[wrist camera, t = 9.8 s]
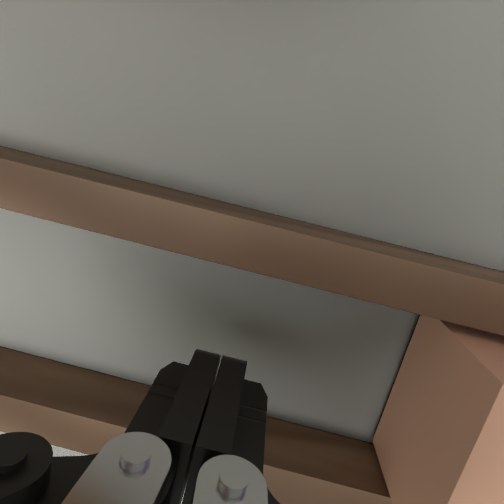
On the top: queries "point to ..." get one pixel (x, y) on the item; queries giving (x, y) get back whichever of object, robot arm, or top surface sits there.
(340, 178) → the top surface
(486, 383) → the block
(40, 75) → the top surface
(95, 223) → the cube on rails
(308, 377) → the top surface
